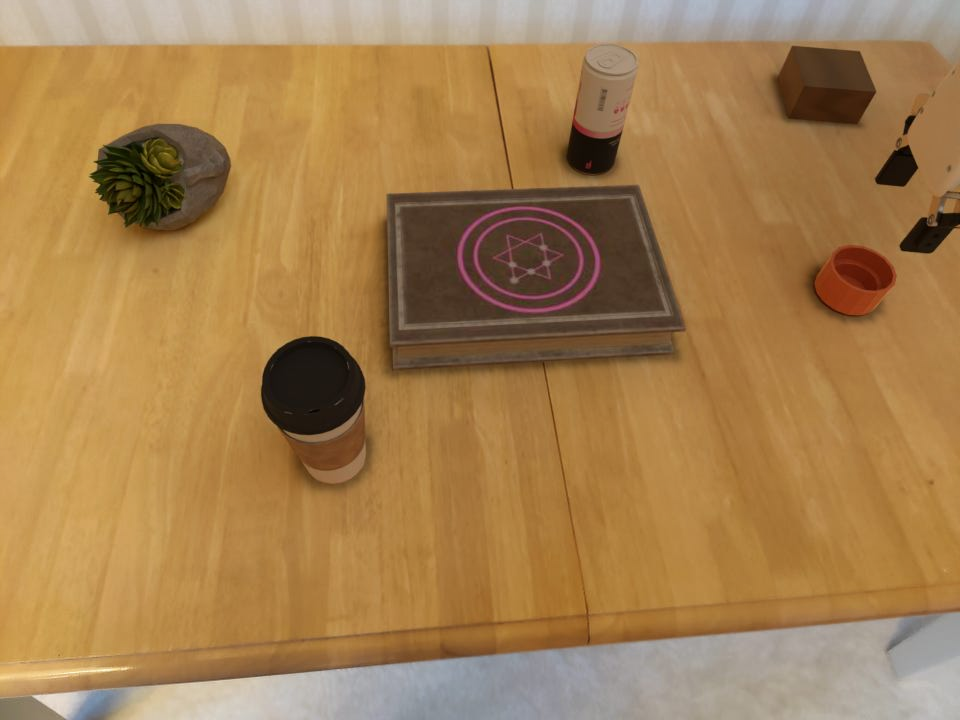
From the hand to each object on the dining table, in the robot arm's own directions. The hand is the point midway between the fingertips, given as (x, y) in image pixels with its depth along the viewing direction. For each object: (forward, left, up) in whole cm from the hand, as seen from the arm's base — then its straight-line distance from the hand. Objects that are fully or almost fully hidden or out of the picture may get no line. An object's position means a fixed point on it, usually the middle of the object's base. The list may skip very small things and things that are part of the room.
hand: (901, 215), depth 68 cm
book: (+38, +3, -13) cm, 40 cm away
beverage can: (+30, -20, -13) cm, 38 cm away
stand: (-4, -38, -13) cm, 41 cm away
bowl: (0, 0, -13) cm, 13 cm away
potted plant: (+81, -3, -13) cm, 82 cm away
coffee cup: (+55, +27, -13) cm, 62 cm away
